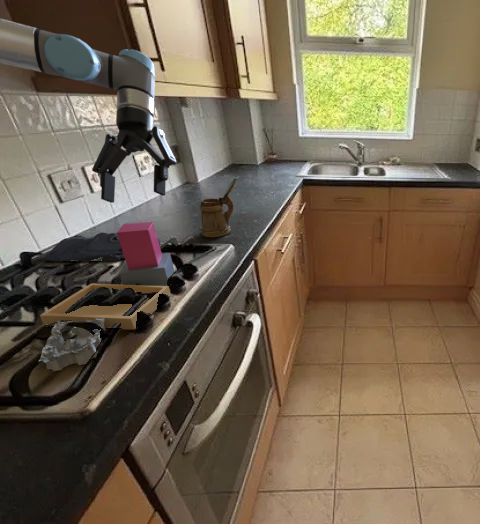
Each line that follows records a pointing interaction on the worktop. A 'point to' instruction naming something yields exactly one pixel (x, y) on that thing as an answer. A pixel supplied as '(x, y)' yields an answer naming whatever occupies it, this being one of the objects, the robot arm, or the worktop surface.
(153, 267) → the grey block
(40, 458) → the worktop surface
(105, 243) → the dark slate chunk
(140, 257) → the pink block
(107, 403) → the worktop surface
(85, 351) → the grey lumpy chunk
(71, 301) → the tray
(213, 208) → the wooden mug
